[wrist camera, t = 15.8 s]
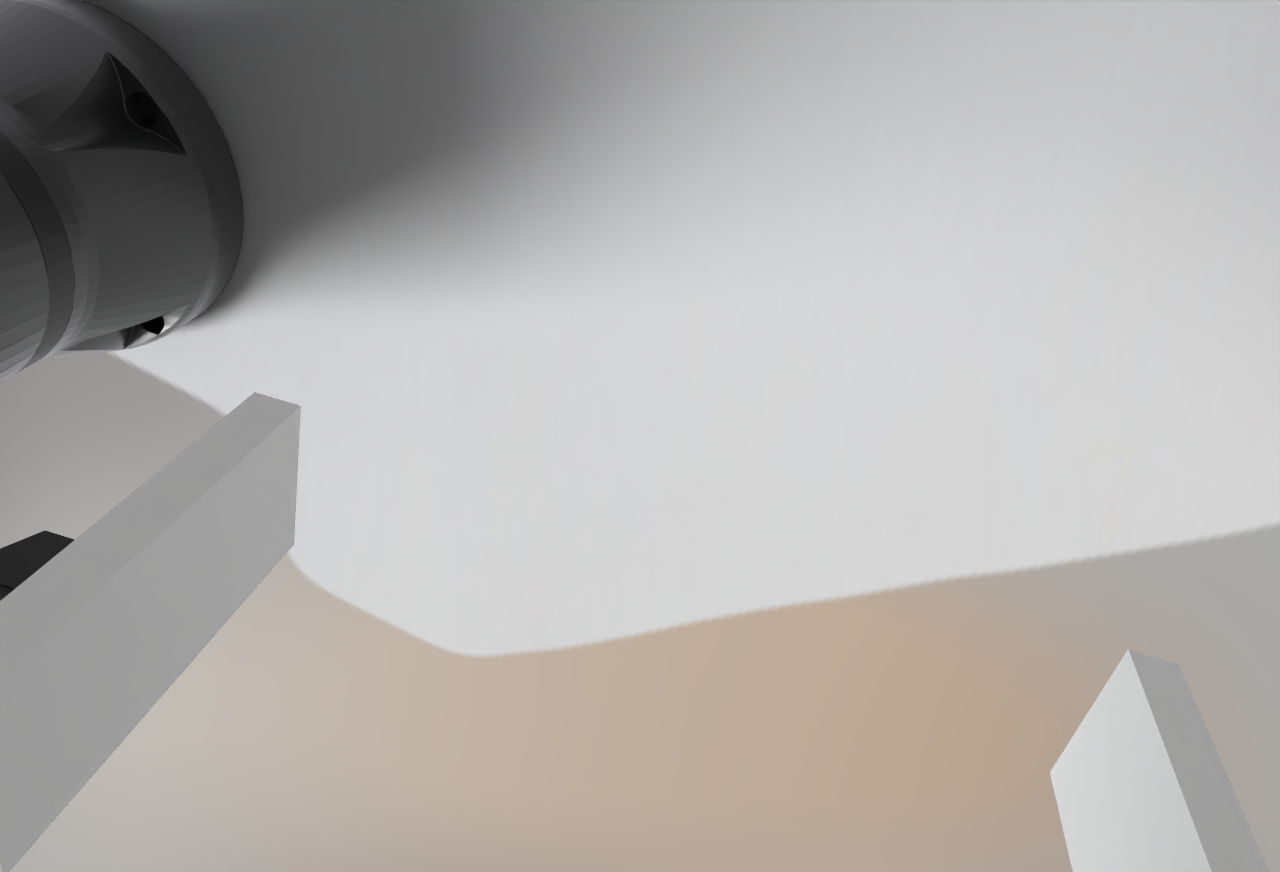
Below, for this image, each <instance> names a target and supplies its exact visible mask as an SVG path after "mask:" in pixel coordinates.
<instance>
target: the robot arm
mask: <svg viewBox="0 0 1280 872" xmlns="http://www.w3.org/2000/svg"><path fill="white" fill-rule="evenodd" d="M241 235H242V205H241V196H240V189H239V184H238V179H237V175H236V171H235V167H234V164H233V161H232V158H231V155H230V152H229V149H228V147H227V144H226V142H225V139H224V137H223V135H222V133H221V130H220V128H219V126H218V124H217V123H216V121H215V119H214V117H213V115H212V113H211V112H210V110H209V108H208V106H207V105H206V103H205V102H204V100H203V99H202V97H201V96H200V94H199V93H198V91H197V90H196V89H195V87H194V86H193V85H192V83H191V82H190V81H189V79H188V78H187V77H186V76H185V75H184V73H183V72H182V71H181V70H180V69H179V68H178V66H177V65H176V64H175V63H174V62H173V61H172V60H171V59H170V58H169V57H168V56H167V55H166V54H165V53H164V52H163V51H162V50H161V49H160V48H159V47H157V46H156V45H155V44H154V43H153V42H152V41H150V40H149V39H148V38H147V37H146V36H144V35H143V34H142V33H140V32H139V31H138V30H136V29H135V28H133V27H132V26H130V25H129V24H127V23H126V22H124V21H123V20H121V19H119V18H117V17H116V16H114V15H112V14H110V13H108V12H106V11H104V10H102V9H100V8H98V7H96V6H93V5H91V4H88V3H86V2H83V1H80V0H0V382H1V381H3V380H5V379H7V378H8V377H10V376H12V375H13V374H15V373H17V372H19V371H21V370H22V369H24V368H26V367H28V366H29V365H31V364H33V363H35V362H37V361H38V360H46V359H54V358H62V357H69V356H77V355H85V354H92V353H100V352H108V351H116V350H123V349H129V348H134V347H138V346H142V345H145V344H148V343H151V342H153V341H156V340H158V339H161V338H163V337H165V336H166V335H168V334H170V333H172V332H173V331H175V330H177V329H178V328H180V327H181V326H183V325H185V324H186V323H188V322H189V321H191V320H193V319H194V318H196V317H197V316H198V315H200V314H201V313H203V312H204V311H205V310H206V309H207V308H208V307H209V306H210V305H211V304H212V303H213V302H214V301H215V300H216V299H217V298H218V296H219V295H220V294H221V292H222V291H223V289H224V288H225V286H226V284H227V283H228V281H229V279H230V277H231V274H232V272H233V269H234V267H235V264H236V261H237V257H238V253H239V248H240V243H241ZM300 408H301V406H299V405H296V404H292V403H289V402H285V401H282V400H279V399H275V398H272V397H268V396H265V395H262V394H258V393H253V394H252V395H251V396H250V397H249V398H247V399H246V400H245V401H244V402H242V403H241V404H240V405H239V406H238V407H236V408H235V409H234V410H233V411H231V412H230V413H229V414H228V415H227V416H225V417H224V418H223V419H222V420H220V421H219V422H218V423H217V424H216V425H214V426H213V427H212V428H211V429H209V430H208V431H207V432H206V433H205V434H203V435H202V436H201V437H200V438H199V439H197V440H196V441H195V442H194V443H192V444H191V445H190V446H189V447H188V448H186V449H185V450H184V451H183V452H181V453H180V454H179V455H178V456H177V457H175V458H174V459H173V460H172V461H170V462H169V463H168V464H167V465H166V466H164V467H163V468H162V469H161V470H160V471H158V472H157V473H156V474H155V475H153V476H152V477H151V478H150V479H148V480H147V481H146V482H145V483H144V484H142V485H141V486H140V487H139V488H138V489H136V490H135V491H134V492H133V493H131V494H130V495H129V496H128V497H127V498H125V499H124V500H123V501H122V502H120V503H119V504H118V505H117V506H116V507H115V508H113V509H112V510H111V511H109V512H108V513H107V514H106V515H105V516H103V517H102V518H101V519H100V520H98V521H97V522H96V523H95V524H94V525H93V526H91V527H90V528H89V529H88V530H86V531H85V532H84V533H83V534H81V535H80V536H79V537H78V538H77V539H75V540H74V539H71V538H68V537H64V536H61V535H58V534H54V533H51V532H48V531H43V532H40V533H38V534H35V535H33V536H30V537H28V538H25V539H23V540H21V541H18V542H16V543H13V544H11V545H8V546H6V547H3V548H1V549H0V872H9V871H10V870H11V869H12V868H13V867H14V866H15V864H16V863H17V862H18V861H19V860H20V859H21V858H22V856H23V855H24V854H25V853H26V852H27V851H28V850H29V848H30V847H31V846H32V845H33V844H34V843H35V841H36V840H37V839H38V838H39V837H40V836H41V834H42V833H43V832H44V831H45V830H46V829H47V828H48V826H49V825H50V824H51V823H52V822H53V821H54V820H55V818H56V817H57V816H58V815H59V814H60V813H61V812H62V810H63V809H64V808H65V807H66V806H67V805H68V804H69V802H70V801H71V800H72V799H73V797H75V795H76V794H77V793H78V792H79V791H80V790H81V789H82V787H83V786H84V785H85V784H86V783H87V782H88V780H89V779H90V778H91V777H92V776H93V775H94V774H95V772H96V771H97V770H98V769H99V768H100V767H101V765H102V764H103V763H104V762H105V761H106V760H107V758H108V757H109V756H110V755H111V754H112V753H113V752H114V751H115V749H116V748H117V747H118V746H119V745H120V744H121V742H122V741H123V740H124V739H125V738H126V737H127V735H128V734H129V733H130V732H131V731H132V730H133V729H134V727H135V726H136V725H137V724H138V723H139V722H140V721H141V719H142V718H143V717H144V716H145V715H146V714H147V713H148V711H149V710H150V709H151V708H152V707H153V706H154V704H155V703H156V702H157V701H158V700H159V698H160V697H161V696H162V695H163V694H164V693H165V692H166V691H167V690H168V688H169V687H170V686H171V685H172V684H173V683H174V682H175V680H176V679H177V678H178V677H179V676H180V675H181V673H182V672H183V671H184V670H185V669H186V668H187V667H188V665H189V664H190V663H191V662H192V661H193V660H194V658H195V657H196V656H197V655H198V654H199V652H200V651H201V650H202V649H203V648H204V647H205V646H206V645H207V643H208V642H209V641H210V640H211V639H212V638H213V637H214V635H215V634H216V633H217V632H218V631H219V630H220V628H221V627H222V626H223V625H224V624H225V623H226V622H227V620H228V619H229V618H230V617H231V616H232V615H233V614H234V612H235V611H236V610H237V609H238V608H239V607H240V606H241V604H242V603H243V602H244V601H245V600H246V599H247V597H248V596H249V595H250V594H251V593H252V592H253V591H254V589H255V588H256V587H257V586H258V585H259V584H260V583H261V581H262V580H263V579H264V578H265V577H266V576H267V574H268V573H269V572H270V571H271V570H272V569H273V568H274V566H275V565H276V564H277V563H278V561H280V560H281V558H282V557H283V556H284V555H285V554H286V553H287V551H288V550H289V549H290V548H291V547H292V546H293V545H294V532H295V511H296V490H297V470H298V449H299V428H300ZM1050 774H1051V779H1052V783H1053V787H1054V792H1055V797H1056V801H1057V805H1058V810H1059V814H1060V818H1061V822H1062V826H1063V831H1064V836H1065V839H1066V844H1067V849H1068V853H1069V857H1070V862H1071V866H1072V870H1073V872H1269V870H1268V868H1267V865H1266V863H1265V861H1264V858H1263V856H1262V854H1261V851H1260V849H1259V847H1258V845H1257V842H1256V840H1255V838H1254V835H1253V833H1252V831H1251V828H1250V826H1249V824H1248V822H1247V819H1246V817H1245V815H1244V813H1243V810H1242V808H1241V805H1240V803H1239V801H1238V798H1237V796H1236V794H1235V792H1234V789H1233V787H1232V785H1231V782H1230V780H1229V778H1228V775H1227V773H1226V771H1225V769H1224V766H1223V764H1222V762H1221V759H1220V757H1219V755H1218V752H1217V750H1216V748H1215V745H1214V743H1213V741H1212V739H1211V736H1210V734H1209V732H1208V729H1207V727H1206V725H1205V722H1204V720H1203V718H1202V716H1201V713H1200V711H1199V709H1198V706H1197V704H1196V702H1195V699H1194V697H1193V695H1192V693H1191V690H1190V688H1189V686H1188V684H1187V681H1186V679H1185V676H1184V674H1183V672H1182V669H1181V667H1180V665H1179V664H1177V663H1174V662H1170V661H1167V660H1163V659H1160V658H1157V657H1153V656H1150V655H1146V654H1143V653H1140V652H1136V651H1133V650H1129V649H1128V651H1127V652H1126V654H1125V655H1124V657H1123V658H1122V660H1121V662H1120V663H1119V665H1118V666H1117V668H1116V669H1115V671H1114V673H1113V674H1112V676H1111V677H1110V679H1109V680H1108V682H1107V684H1106V685H1105V687H1104V688H1103V690H1102V691H1101V693H1100V695H1099V696H1098V698H1097V699H1096V701H1095V702H1094V704H1093V706H1092V707H1091V709H1090V710H1089V712H1088V714H1087V715H1086V717H1085V718H1084V720H1083V721H1082V723H1081V725H1080V726H1079V728H1078V729H1077V731H1076V732H1075V734H1074V735H1073V737H1072V739H1071V740H1070V742H1069V743H1068V745H1067V747H1066V748H1065V750H1064V751H1063V753H1062V754H1061V756H1060V758H1059V759H1058V761H1057V762H1056V764H1055V765H1054V767H1053V769H1052V770H1051V772H1050Z"/></svg>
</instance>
